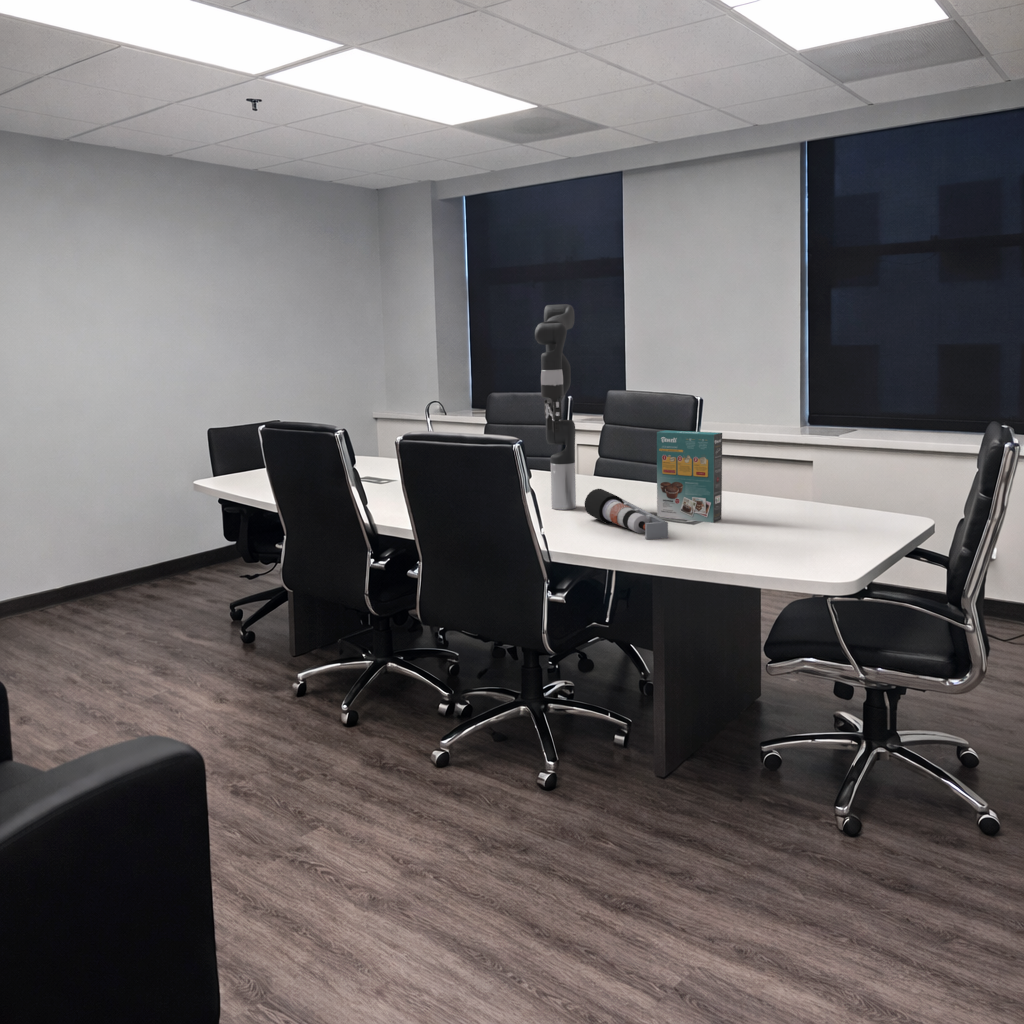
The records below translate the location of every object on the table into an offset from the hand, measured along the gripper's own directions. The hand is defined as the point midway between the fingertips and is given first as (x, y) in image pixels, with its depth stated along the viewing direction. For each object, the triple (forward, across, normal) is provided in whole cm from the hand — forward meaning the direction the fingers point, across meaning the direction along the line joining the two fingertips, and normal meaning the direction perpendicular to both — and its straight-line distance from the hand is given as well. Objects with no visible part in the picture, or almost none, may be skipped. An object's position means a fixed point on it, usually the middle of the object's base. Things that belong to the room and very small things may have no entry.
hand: (553, 431), depth 315 cm
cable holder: (+32, +11, +24) cm, 42 cm away
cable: (+32, +14, +20) cm, 41 cm away
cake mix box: (+32, +8, +46) cm, 57 cm away
